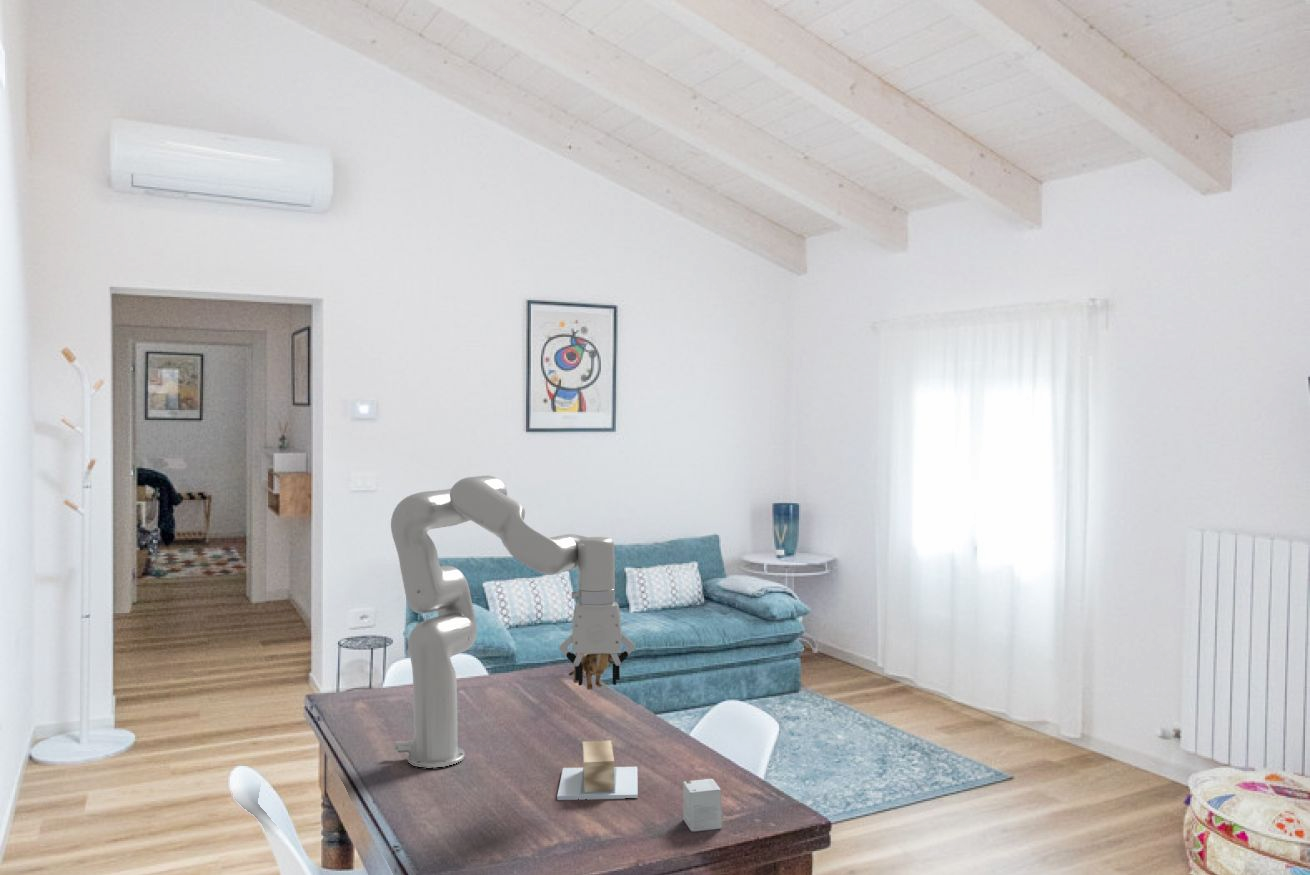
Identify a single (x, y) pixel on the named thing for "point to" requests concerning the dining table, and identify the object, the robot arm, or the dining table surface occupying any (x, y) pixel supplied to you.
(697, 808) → the skincare box
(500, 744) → the dining table surface
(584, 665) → the lion figurine
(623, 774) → the board
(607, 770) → the oak block
